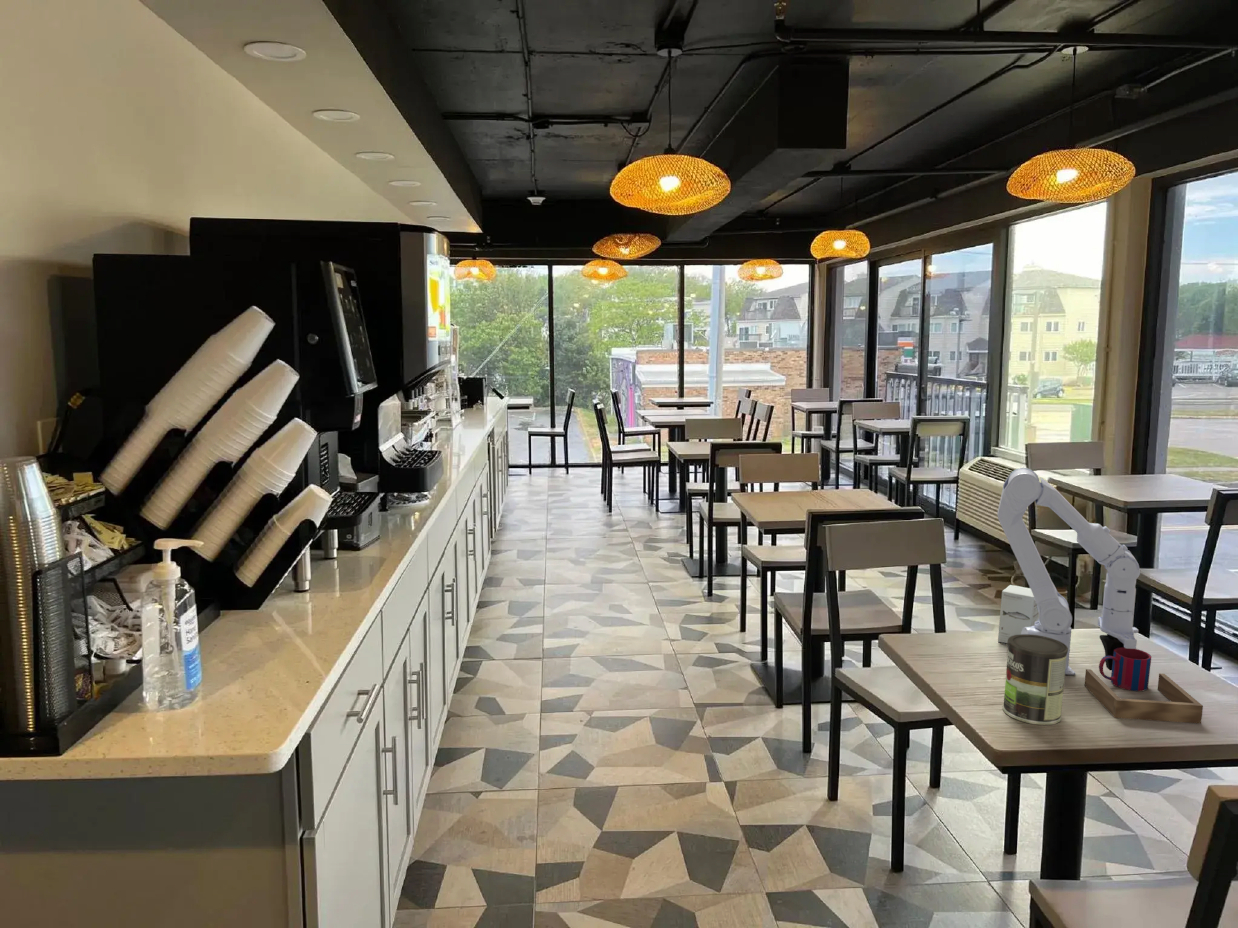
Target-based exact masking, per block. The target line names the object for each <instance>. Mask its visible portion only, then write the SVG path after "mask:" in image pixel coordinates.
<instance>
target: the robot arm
mask: <svg viewBox="0 0 1238 928" xmlns="http://www.w3.org/2000/svg"><path fill="white" fill-rule="evenodd" d="M1000 494H1001V495H1000V500H999V504H998V508H997V519H998V522H999V524H1000V525H1001V528H1002V530H1003V532H1004V533H1003V534H1004V535H1005V536H1006V539H1007V541H1008V543H1009V545H1010V548H1011V550H1012V552H1013V554H1014V556H1015V558H1016V561H1017V563H1018V564H1019V567H1020V569H1021V571H1022V574H1023V576H1024V578H1025V579H1026V582H1027V584H1028V587H1029V588H1031V591H1032V593H1033V596H1034V598H1035V601H1036V604H1037V610H1038V612H1039V619H1038V620H1037V621H1036V622H1035V624H1034V626H1031V627H1023V629H1022V632H1021V634H1030V635H1039V636H1044V637H1049V638H1052V639H1055V640H1058V641H1060V642H1062V643H1064V644H1065V645H1066V646H1067V647H1068V652H1067V656H1066V667H1065V675H1073V676H1074V675H1076V671H1074V670H1073V668H1071V666H1070V663H1069V662H1070V652H1071V651H1070V650H1071V641H1072V640H1071V639H1072V627H1071V625H1072V623H1073V615H1072V613H1071V611H1070V607H1069V606H1070V605H1069V602H1068V601H1067V599H1066V598H1065V597H1064V596H1063V595H1062V594H1060V592H1059V591H1058V590H1057V588H1056V586H1055V584H1054V582H1053V580H1052V579H1051V576H1050V574H1049V572H1048V570H1047V568H1046V566H1045V563H1044V561H1043V560H1042V556H1041V554H1040V553H1039V551H1038V549H1037V546H1036V545H1035V542H1034V539H1033V538H1032V535H1031V533H1030V531H1029V530H1028V527H1027V525H1026V523H1025V520H1024V519H1023V517H1024V515H1025V513H1026V511H1027V509H1028V507H1029V506H1030V505H1032V503H1034V502H1035V505H1036V506H1040V507H1041V506H1042V507H1047V508H1049V509H1050V510H1052V512H1054V513H1055V514H1056V515H1057V516H1058V517H1059V518H1060V519H1061V520H1063V521H1064V523H1066V524H1067V525H1068V526H1069V527H1070V528H1071V529H1072V530H1073V531H1075V532H1076V542H1077V543H1078V544H1079V546H1080V547H1082V548H1083V549H1084V550H1085V551H1086V552H1087V553H1088V554H1089V555H1090V556H1091V557H1092V558H1093V560H1095V561H1097V563H1098V564H1099V565H1103V567H1104V568H1105V570H1107V571H1106V576H1105V577H1106V579H1105V584H1104V589H1103V603H1102V613H1101V614H1102V615H1101V616H1098V617H1097V626H1098V627H1099V629H1100V631H1101V632H1102V633H1105V634H1100V635H1099V639H1100V642H1101V644H1102V647H1103V650H1104V657H1105V656H1113V654H1114V649H1116V648H1121V647H1125V648H1128V649H1137V645H1138V640H1137V638H1136V637H1135V634H1138V633H1139V629H1138V628H1137V627H1135V626H1134V615H1135V603H1136V595H1137V588H1136V585H1137V580H1138V578H1139V576H1140V575H1141V570H1140V565H1139V563H1138V561H1137V559H1136V558H1135V556H1134V555H1133V554H1132V551H1130V550H1128V547H1127V546H1126V545H1125V544H1121V543H1120V542H1119V541H1118V540H1117V539H1116V538H1115V537H1113V536H1112V535H1111V529H1110V528H1109V527H1107V525H1105V526H1102V525H1101V523H1092V522H1089V521H1088V520H1087V519H1086V518H1085V517H1084V516H1083V515H1082V514H1081V513H1080V511H1078V510H1077V509H1076V508H1075V507H1074V506H1073V505H1072V504H1071V503H1070V502H1069V501H1068V500H1067V499H1066V498H1065V497H1064V496H1063V494H1062V493H1060V492H1059V490H1057V488H1055V487H1054V486H1053V485H1051V484H1050V483H1049V482H1048V481H1046V480H1045V479H1044V478H1042V477H1040V479H1039V476H1038V475H1037V473H1036V472H1035V471H1034V470H1032V469H1030V468H1028V467H1020V468H1016V469H1014V470H1013V471H1012V472H1010V474H1009V475H1008V476H1007V477H1006V480H1005V481H1004V482H1003V485H1002V490H1001V493H1000ZM1112 664H1113V659H1108V660H1106V661H1105V667H1106V668H1107V669H1108V670H1109V671H1112Z"/></svg>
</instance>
